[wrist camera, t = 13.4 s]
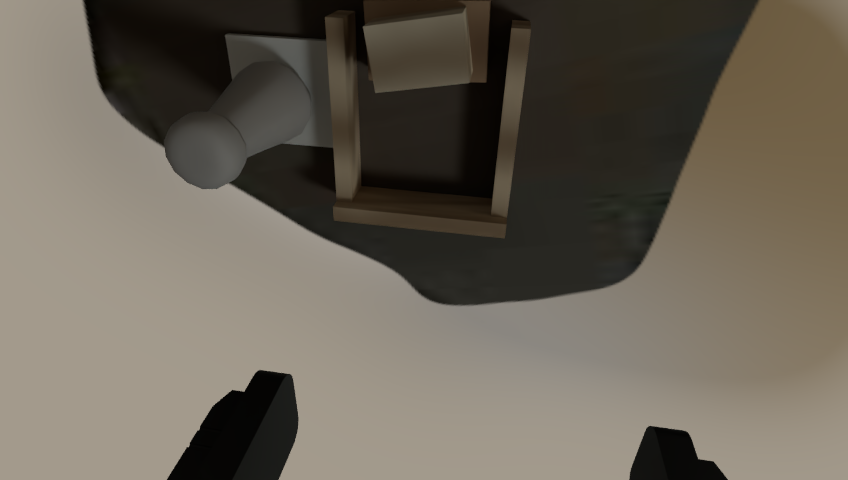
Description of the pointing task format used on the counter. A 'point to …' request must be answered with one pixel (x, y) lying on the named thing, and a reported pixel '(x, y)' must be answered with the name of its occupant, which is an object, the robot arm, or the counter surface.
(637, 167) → the counter surface
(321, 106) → the coaster
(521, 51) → the frame
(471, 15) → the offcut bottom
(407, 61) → the offcut top
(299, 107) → the salt shaker
